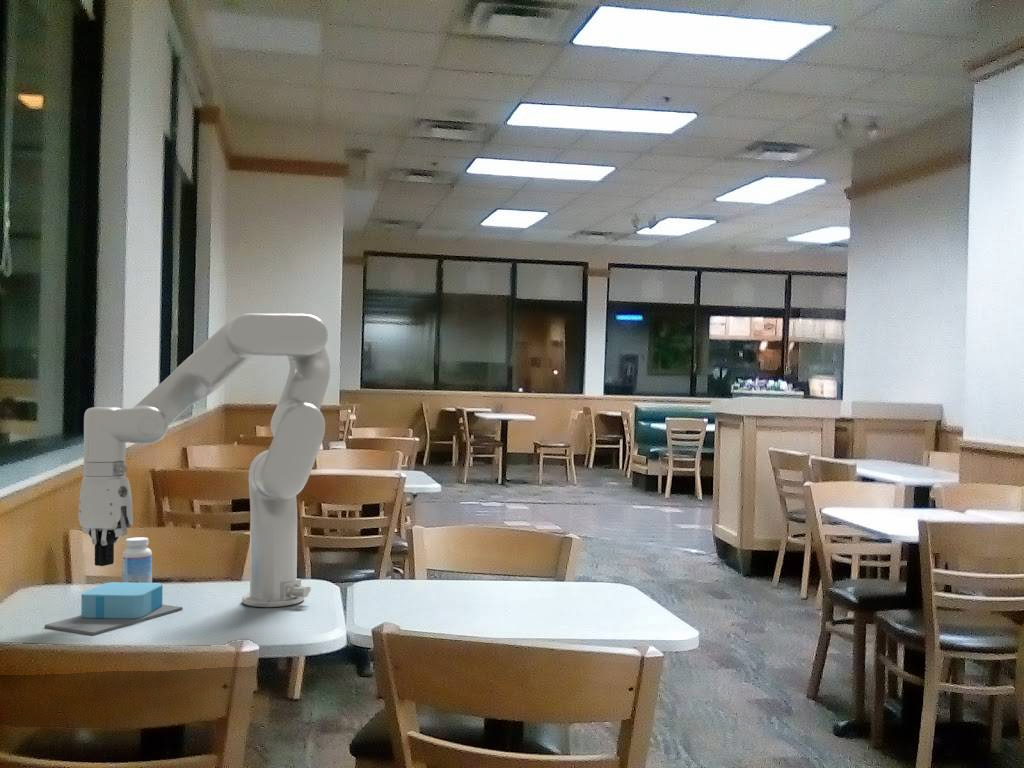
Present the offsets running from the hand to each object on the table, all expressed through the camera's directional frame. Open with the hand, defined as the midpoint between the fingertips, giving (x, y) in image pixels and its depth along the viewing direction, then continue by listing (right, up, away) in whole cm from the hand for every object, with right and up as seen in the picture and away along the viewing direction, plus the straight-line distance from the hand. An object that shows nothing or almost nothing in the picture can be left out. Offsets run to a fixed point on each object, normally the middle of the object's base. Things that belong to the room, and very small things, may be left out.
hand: (104, 564), depth 188 cm
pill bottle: (-3, -10, +25) cm, 27 cm away
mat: (+3, -10, -1) cm, 11 cm away
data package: (-3, -7, +2) cm, 8 cm away
